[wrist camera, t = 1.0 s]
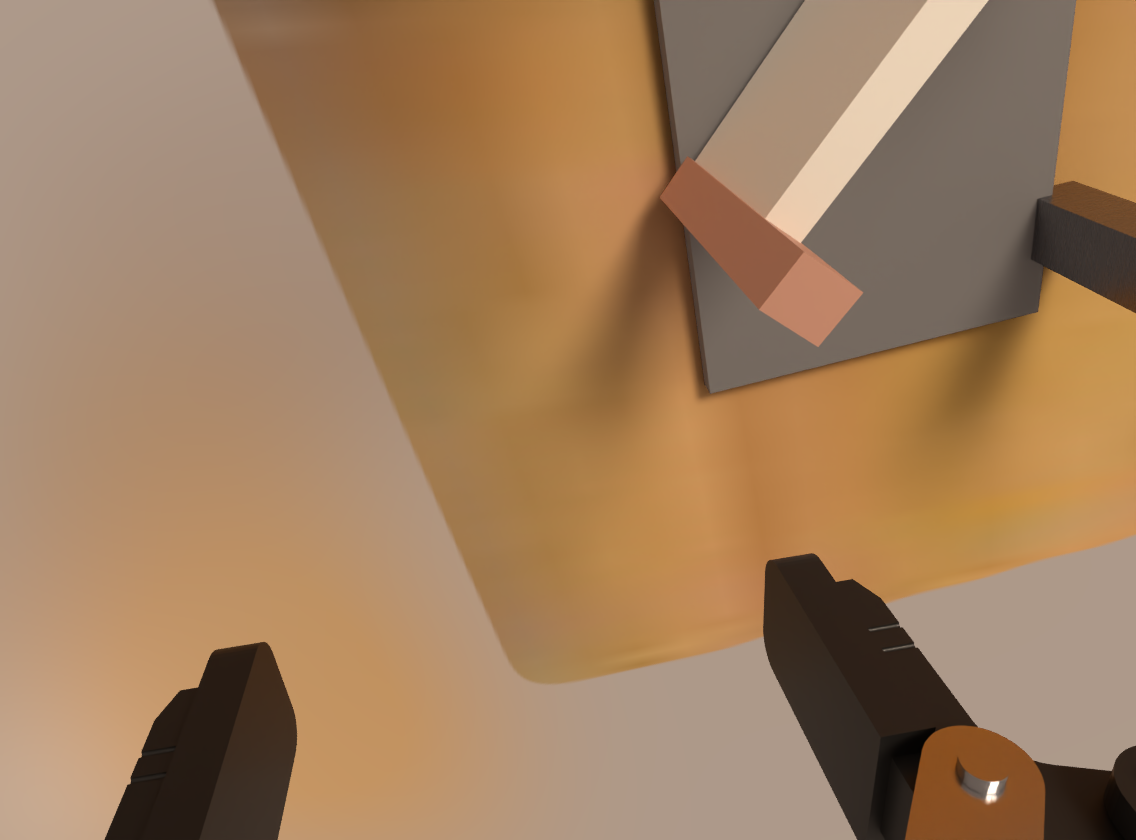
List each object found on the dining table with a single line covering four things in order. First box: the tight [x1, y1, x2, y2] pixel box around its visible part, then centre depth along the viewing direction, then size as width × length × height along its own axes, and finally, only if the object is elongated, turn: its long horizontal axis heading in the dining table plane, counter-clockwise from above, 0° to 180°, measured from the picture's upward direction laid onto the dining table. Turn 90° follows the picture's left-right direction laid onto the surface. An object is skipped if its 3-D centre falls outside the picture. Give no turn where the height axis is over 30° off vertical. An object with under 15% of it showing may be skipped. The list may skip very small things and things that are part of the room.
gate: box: [659, 0, 988, 347], centre depth 25 cm, size 19×2×12 cm, turn 147°
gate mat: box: [654, 0, 1076, 394], centre depth 32 cm, size 27×17×1 cm, turn 12°
